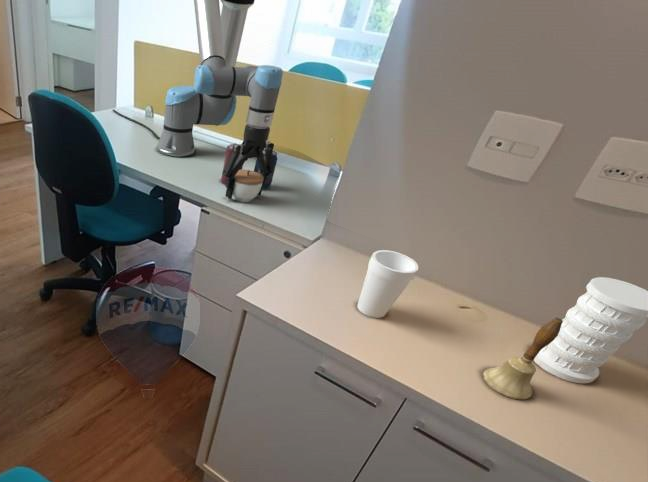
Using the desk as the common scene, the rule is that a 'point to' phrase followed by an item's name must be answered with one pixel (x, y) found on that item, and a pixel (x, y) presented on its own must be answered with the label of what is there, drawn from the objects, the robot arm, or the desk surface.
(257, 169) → the soda can
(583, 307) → the decorative container
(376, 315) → the foam cup
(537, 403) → the desk surface
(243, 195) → the trinket box
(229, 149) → the aluminium can
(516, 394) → the hand bell
